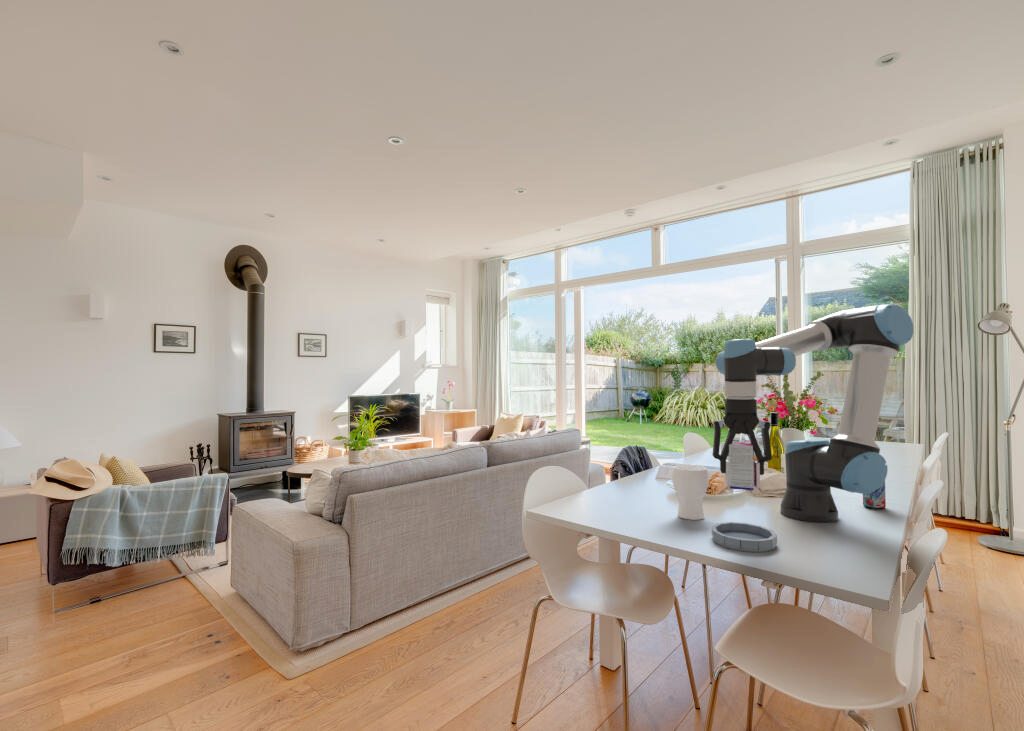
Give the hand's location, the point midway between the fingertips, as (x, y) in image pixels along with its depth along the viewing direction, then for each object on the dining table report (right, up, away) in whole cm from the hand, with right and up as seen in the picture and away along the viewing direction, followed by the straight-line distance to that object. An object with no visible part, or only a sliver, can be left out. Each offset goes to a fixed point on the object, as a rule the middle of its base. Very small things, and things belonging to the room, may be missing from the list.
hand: (742, 486), depth 127 cm
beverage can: (+57, -15, +30) cm, 66 cm away
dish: (0, -14, 0) cm, 14 cm away
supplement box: (0, 0, 0) cm, 0 cm away
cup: (-5, -15, +23) cm, 28 cm away
